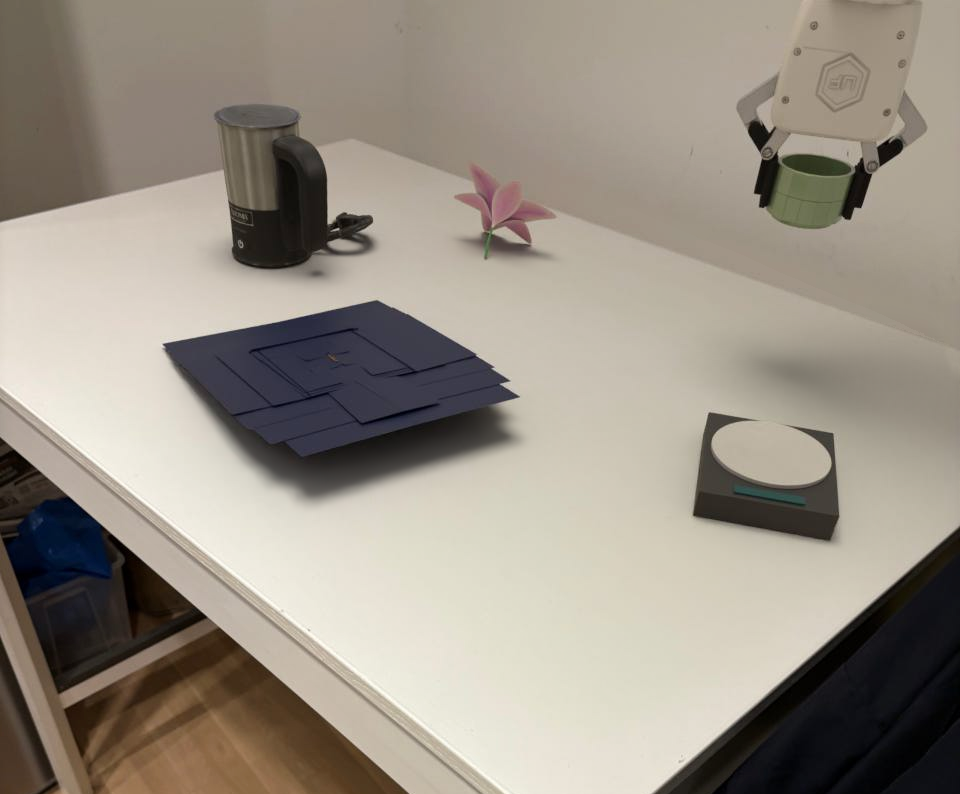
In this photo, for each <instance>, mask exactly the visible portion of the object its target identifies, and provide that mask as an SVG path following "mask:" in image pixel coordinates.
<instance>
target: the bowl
mask: <svg viewBox="0 0 960 794" xmlns="http://www.w3.org/2000/svg"><path fill="white" fill-rule="evenodd" d="M855 173H856V171H855V166H853V165H852V164H851V163H850V162H848V161H846V160H843V159H841V158H837V157H835V156H834V157H833V156H830V155H829V156H828V155H825V154H821V153H811V152H793V153H785V154H783V155H781V156H778V165H777V169H776V173H775V177H774V181H773V185H772V189H771V193H770V197H769V201H768V205H767V207H765V210H766V211H767V212H768V213H769V215H770V216H771V217H772V219H773V220H775V221H777V222H778V223H781V224H783V225H785V226H789V227H793V228H796V229H805V230H822V229H826V228H829V227H831V226H832V225H836V224H838V223H839V222H840V221H841V220H842V218H843V216H842V215H843V212H844V209H845V205H846V202H847V199H848V196H849V192H850V189H851V186H852V183H853V179H854V176H855Z"/></svg>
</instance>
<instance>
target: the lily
mask: <svg viewBox="0 0 960 794" xmlns="http://www.w3.org/2000/svg"><path fill="white" fill-rule="evenodd" d="M466 167H467V170H468V172H469V175H470V177H471V180H472V183H473V186H474V189H475V192H463V193H458V194H456V195H453V198H454V199H455V200H456V201H459V202H460V203H463V204H465V205H467V206H469V207H471V208H472V209H475V210H477V211H479V212H480V219H481V226H482V229H483V231H484V232H487V233H488V237H487V240H486V245H485V251H484V257H483V259H485V260H486V259H487V258H488V252H489V247H490V241H491V238H492V234H493V231H496V230H498V229H502V228H507V229H509V230H510V231H511V232H512V233H514V234H515V235H516V236H518V237H519V238H521V239H522V240H523V241H525V242H526V243H527V244H529V245H532V242H533V241H532V236H531V232H530V229H529V227H528V226H527V224H526V223H529V222H535V221H543V220H554V219H556V218H558V216H557V214H556V213H554V212H553V211H552V210H551V209H548V208H547V207H545V206H544V205H543V204H542V205H541V203H538V202H536V201H534V200H531V199H527V198H523V185H522V182H521V181H520V180H512V181H511V180H510V181H507V182H506V183H504V184H500V182H498V180H497V179H496V178H495V177H494V175H492V174H491V173H490V172H488V171H487V170H486V169H484V168H483V167H481V166H479V165H478V164H476V163H474V162H473V161H471V160H470V161H469V160H467V161H466Z"/></svg>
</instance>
